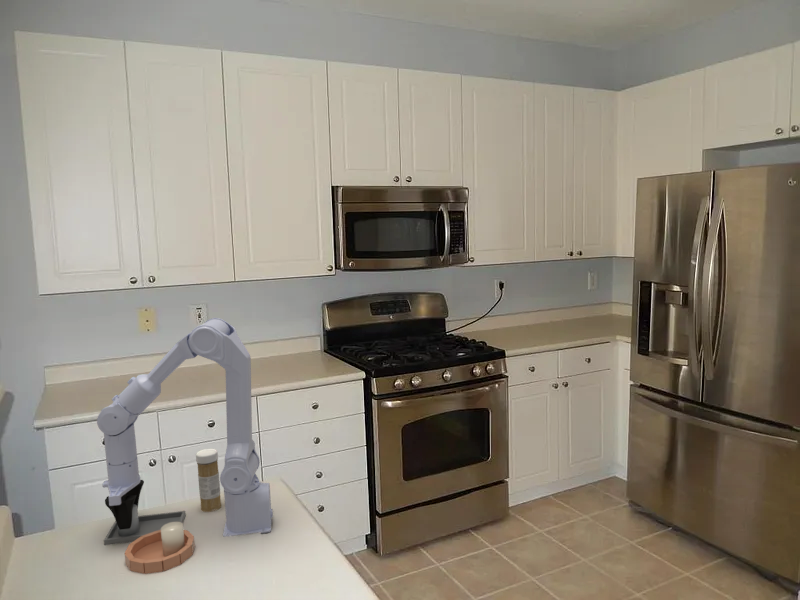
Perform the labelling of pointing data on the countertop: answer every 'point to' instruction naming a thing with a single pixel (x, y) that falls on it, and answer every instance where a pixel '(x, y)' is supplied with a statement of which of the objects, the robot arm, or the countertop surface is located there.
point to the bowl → (156, 553)
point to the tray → (144, 526)
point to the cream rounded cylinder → (172, 538)
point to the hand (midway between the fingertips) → (128, 522)
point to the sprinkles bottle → (208, 479)
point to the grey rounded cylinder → (134, 525)
